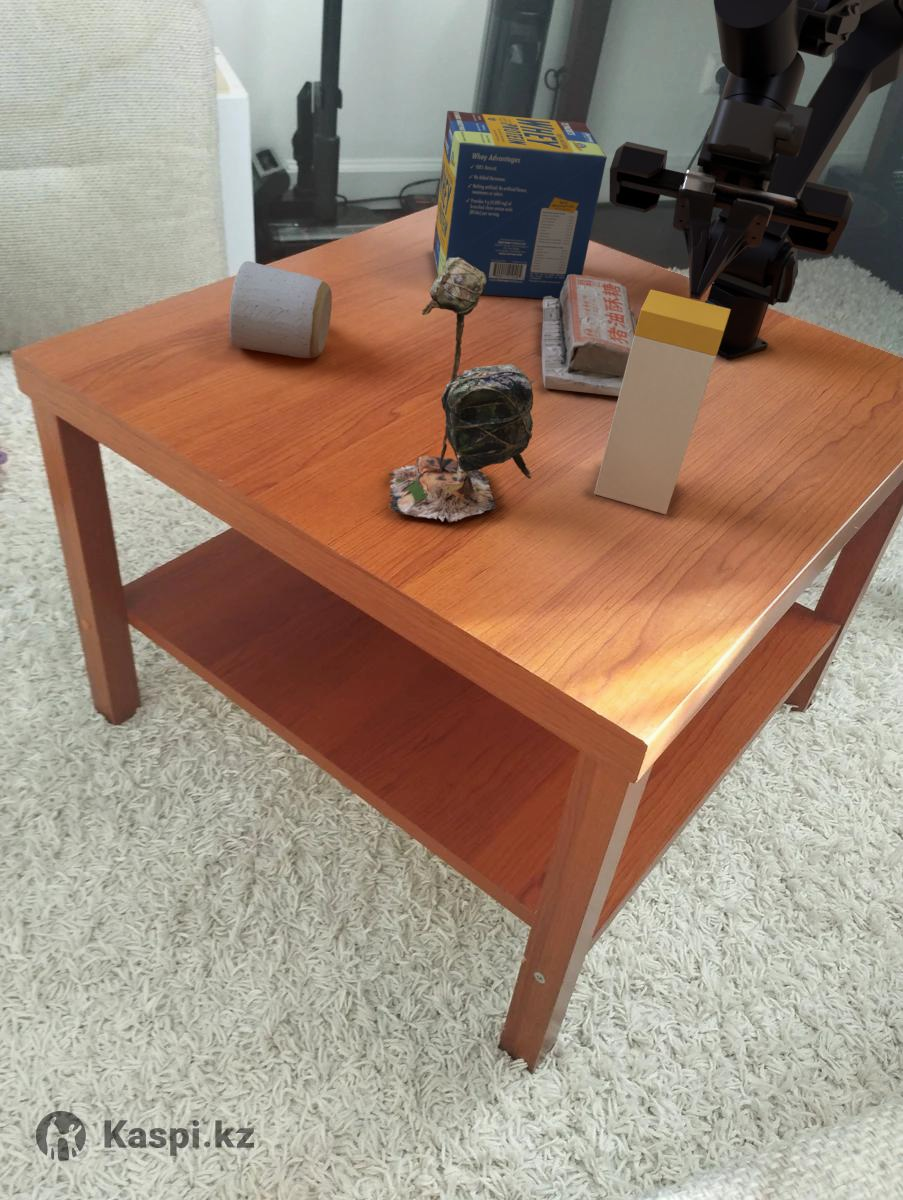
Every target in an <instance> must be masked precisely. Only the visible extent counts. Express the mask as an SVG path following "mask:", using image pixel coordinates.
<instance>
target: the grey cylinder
mask: <svg viewBox="0 0 903 1200" xmlns="http://www.w3.org/2000/svg"><path fill="white" fill-rule="evenodd" d="M332 295H333V294H332V289H331V287H330V285H329V283H327V282H325V281H324V280H321V279H319V278H317V277H314V276H311V275H307V274H303V273H298V272H293V271H290V270H286V269H283V268H279V267H278V268H277V267H274V266H269V265H266V264H261V263H257V262H254V261H250V260H248V261H247V260H246V261H243V263H241V265H240V266H239V269H238V271H237V273H236V276H235V278H234V281H233V285H232V292H231V296H230V305H229V307H230V308H229V325H228V326H229V327H228V328H229V335H230V342H231V344H232V345H233V346H234V347H235V348H237V349H243V350H251V351H256V352H262V353H269V354H275V355H283V356H288V357H293V358H299V359H300V358H301V359H314V358H317V357H318V356H320V355H321V354H322V352H323V350H324V348H325V345H326V342H327V337H328V334H329V329H330V325H331V324H330V323H331V315H332V304H333V296H332Z"/></svg>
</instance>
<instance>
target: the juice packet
mask: <svg viewBox="0 0 903 1200" xmlns="http://www.w3.org/2000/svg"><path fill="white" fill-rule="evenodd" d="M730 311H731V309H728V308H724V307H720V306H716V305H712V304H708V303H705V302H703V301H700V300H696V299H692V298H687V297H683V296H680V295H677V294H676V295H675V294H672V293H667V292H663V291H659V290H655V289H650V290H649V292H648V294H647V296H646V298H645V300H644V302H643V305H642V306H641V308H640V311H639V315H638V319H637V322H636V326H637V327H636V331H635V335H634V338H633V342H632V346H631V350H630V354H629V358H628V362H627V366H626V370H625V374H624V378H623V382H622V386H621V389H620V393H619V396H617V402H616V404H615V405H616V406H615V409H614V414H613V417H612V421H611V426H610V429H609V433H608V437H607V441H606V444H605V449H604V453H603V457H602V460H601V465H600V469H599V473H598V476H597V481H596V484H595V489H594V492H593V495H595V496H596V495H597V496H600V497H604V498H607V499H610V500H613V501H618V502H620V503H624V504H628V505H631V506H635V507H638V508H642V509H645V510H647V511H648V510H649V511H652V512H656V513H658V514H662V515H667V513H668V509H669V507H670V504H671V501H672V500H671V499H672V497H673V494H674V490H675V488H676V483H677V481H678V478H679V475H680V472H681V468H682V465H683V462H684V459H685V456H686V454H687V453H686V452H687V450H688V448H689V447H688V446H689V443H690V441H691V437H692V434H693V431H694V427H695V424H696V422H697V418H698V415H699V412H700V409H701V405H702V402H703V400H704V396H705V393H706V390H707V387H708V385H709V381H710V377H711V374H712V371H713V367H714V364H715V361H716V358H717V356H718V353H717V352H718V349H719V346H720V343H721V340H722V336H723V333H724V330H725V327H726V324H727V321H728V317H729V314H730Z"/></svg>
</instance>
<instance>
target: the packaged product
mask: <svg viewBox="0 0 903 1200" xmlns="http://www.w3.org/2000/svg"><path fill="white" fill-rule="evenodd" d="M628 292H629V291H628V289H627V287H626V286H625V285H624V284H622V283H621V282H618V281H617V279H613V278H605V277H598V276H591V275H585V274H584V275H583V274H582V275H575V274H570V275H567V278H566V280H565V281H564V286H563V287H562V290H561V293H560V297H559V298H558V299H557V298H553V297H552V296H546V297H543V299H542V303H541V305H542V329H541V367H542V369H541V370H542V381H543V388H544V389H550V390H559V391H568V392H569V391H570V392H579V393H586V394H587V393H588V394H594V395H595V394H596V395H605V396H614V397H619V393H620V389H621V386H622V382H623V378H624V374H625V370H626V366H627V362H628V358H629V354H630V350H631V346H632V342H633V338H634V335H635V331H636V327H637V320H636V315H635V311H634V310H632V309H631V304H630V298H629V294H628Z"/></svg>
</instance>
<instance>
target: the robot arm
mask: <svg viewBox="0 0 903 1200" xmlns="http://www.w3.org/2000/svg"><path fill="white" fill-rule="evenodd" d="M713 7H714V14H715V15H714V16H715V21H716V29H717V36H718V42H719V44H718V45H719V50H720V57H721V63H722V64H723V65H724V67H725V68H726V69H727V70H728V76H727V79H726V82H725V85H724V89H723V91H722V94H721V98H720V99H719V100H718V102H717V106H716V108H715V112H714V115H713V119H712V122H711V124H710V125H709V127H708V128H707V130H706V133H705V135H704V139H703V141H702V145H701V147H700V151H699V155H698V157H697V163H696V166H698V169H697V170H693V169H686V170H685V172H681V171H676V170H672V169H668V168H667V159H668V150H666V149H663V148H659V147H653V146H648V145H644V144H641V143H637V142H636V143H635V142H630V141H625V142H624V143H623V144H622V145H620V146H619V147H617V149H616V150H615V153H614V155H613V158H612V161H611V165H610V168H609V196H608V197H609V202H610V203H611V204H612V205H614V206H615V207H618V208H623V209H627V210H631V211H636V212H640V213H644V214H645V213H648V212H650V211H651V210H653V209H655V208H657V206H658V205H659V200H660V198H661V196H664V197H668V198H673V199H675V207H674V213H673V220H672V227H673V228H674V229H675V230H677V231H681V232H683V236H684V242H685V246H686V252H687V259H688V283H689V285H688V286H689V287H688V288H689V299H692V300H696V301H700V300H701V299H702V298H703V296H704V295H705V294H706V292H707V291H708V290H709V292H708V295H707V299H705V302H704V303H708V304H712V305H716V306H720V307H724V308H728V309H731V311H730V314H729V317H728V321H727V324H726V327H725V330H724V333H723V336H722V340H721V343H720V346H719V349H718V352H717V355H719V356H722V357H723V358H725V359H727V360H731V359H735V358H739V357H743V356H746V355H750V354H752V353H757V352H759V351H764V350H767V349H768V346H769V342H767V341H765V340H764V339H762V338H760V337H759V334H760V332H761V328H762V325H763V323H764V320H765V317H766V314H767V311H768V309H769V305H770V306H774V305H776V304H777V303H779V304H780V303H781V304H782V303H783V304H787V303H788V302H789V301H790V299H791V296H792V292H793V290H794V287H795V284H796V279H797V278H798V274H799V260H798V259H799V257H798V250H802V251H805V252H809V253H814V254H818V255H822V256H826V255H831V254H833V253H834V250H835V248H836V247H837V245H838V243H839V241H840V239H841V237H842V235H843V232H844V231H845V229H846V227H847V225H848V222H849V219H850V216H851V212H852V209H853V206H854V199H853V197H852V194H851V192H850V191H849V190H847V189H842V188H839V187H838V188H837V187H833V186H829V185H825V184H820V183H817V182H818V180H819V179H820V177H821V175H822V174H823V172H824V170H825V169H826V167H827V166H828V164H829V162H830V160H831V159H832V157H833V155H834V154H835V152H836V150H837V148H838V147H839V146H840V144H841V142H842V140H843V139H844V137H845V135H846V134H847V132H848V130H849V129H850V127H851V125H852V124H853V122H854V120H855V119H856V117H857V115H858V113H859V112H860V110H861V108H862V107H863V105H864V103H865V102H866V100H867V99H868V97H869V96H870V95H871V94H872V93H874V92H876V91H878V90H881V89H882V88H884V87H886V86H888V85H889V84H892V83H893V82H895V81H897V80H898V78H900V75H901V74H902V73H903V0H713ZM800 52H801V53H804V54H806V55H807V54H808V55H812V56H816V57H819V58H824V59H825V58H827V57H829V56H830V55H831V65H830V66H829V69H828V70H827V72H826V74H825V76H824V77H823V79H822V80H821V82H820V84H819V85H818V87H817V88H816V90H815V92H814V94H813V95H812V97H811V99H810V100H809V101H808V103H807V104H806V106H804V105H799V104H795V102H796V100H797V97H798V94H799V91H800V87H801V83H802V81H803V77H804V74H805V70H806V65H805V60H804V58H803V56H802V55H801V53H800ZM714 208H716V209H720V210H721V211H720V212H719V214H718V217H715V218H714V219H713V220H712V218H713V213H714V212H713V211H714Z"/></svg>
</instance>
